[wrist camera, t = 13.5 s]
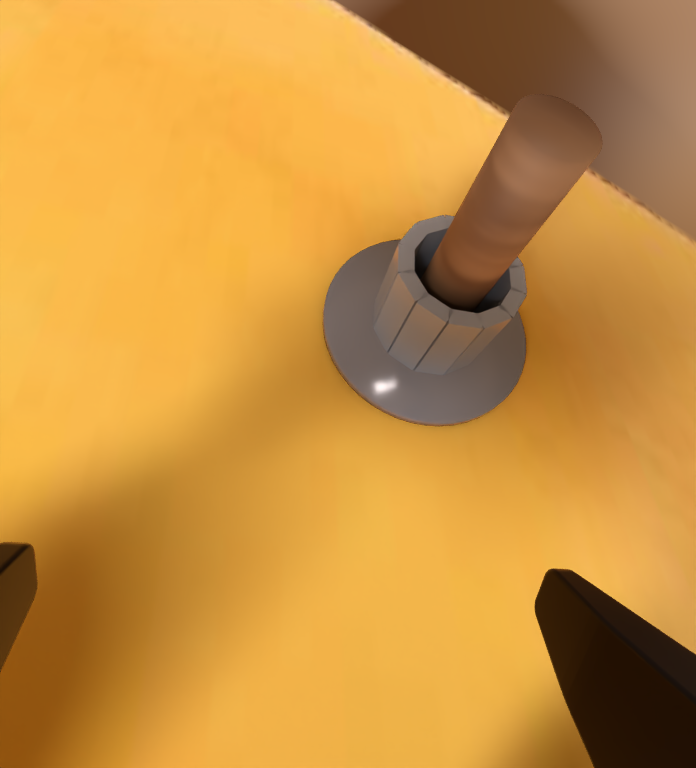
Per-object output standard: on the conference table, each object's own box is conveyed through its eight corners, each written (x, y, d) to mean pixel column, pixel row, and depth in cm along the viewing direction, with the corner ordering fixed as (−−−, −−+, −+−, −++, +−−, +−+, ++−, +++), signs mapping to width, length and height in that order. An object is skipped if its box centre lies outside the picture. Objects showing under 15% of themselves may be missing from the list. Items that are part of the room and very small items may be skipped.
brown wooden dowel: (465, 336, 27) (620, 152, 16) (419, 355, 26) (552, 170, 15) (436, 293, 28) (564, 88, 17) (391, 309, 27) (495, 101, 16)
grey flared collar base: (550, 317, 29) (610, 261, 24) (465, 470, 24) (521, 438, 19) (391, 215, 30) (418, 140, 25) (279, 340, 25) (285, 278, 20)
